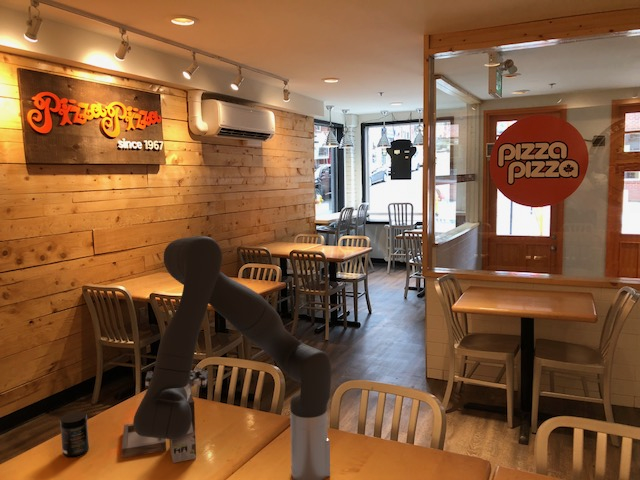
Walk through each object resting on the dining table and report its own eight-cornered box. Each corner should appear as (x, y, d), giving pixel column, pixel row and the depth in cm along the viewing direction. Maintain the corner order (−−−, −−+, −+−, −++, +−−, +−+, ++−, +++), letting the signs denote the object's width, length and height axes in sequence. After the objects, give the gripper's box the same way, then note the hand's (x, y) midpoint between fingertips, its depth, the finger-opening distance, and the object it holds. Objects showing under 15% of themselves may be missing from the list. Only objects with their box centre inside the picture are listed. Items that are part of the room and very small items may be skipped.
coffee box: (197, 458, 141) (194, 401, 139) (172, 463, 139) (169, 406, 136) (192, 442, 149) (190, 388, 147) (169, 447, 147) (166, 392, 145)
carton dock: (164, 426, 159) (164, 418, 158) (166, 450, 145) (165, 441, 145) (124, 432, 155) (123, 424, 155) (122, 457, 142) (121, 449, 141)
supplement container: (94, 449, 146) (92, 414, 145) (73, 461, 140) (70, 424, 139) (79, 443, 149) (76, 409, 148) (57, 455, 143) (54, 419, 142)
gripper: (205, 373, 117) (209, 355, 133) (139, 375, 115) (150, 356, 131) (205, 406, 118) (208, 384, 134) (139, 408, 115) (150, 385, 131)
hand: (179, 370), depth 132 cm, fingers open, 8 cm apart
